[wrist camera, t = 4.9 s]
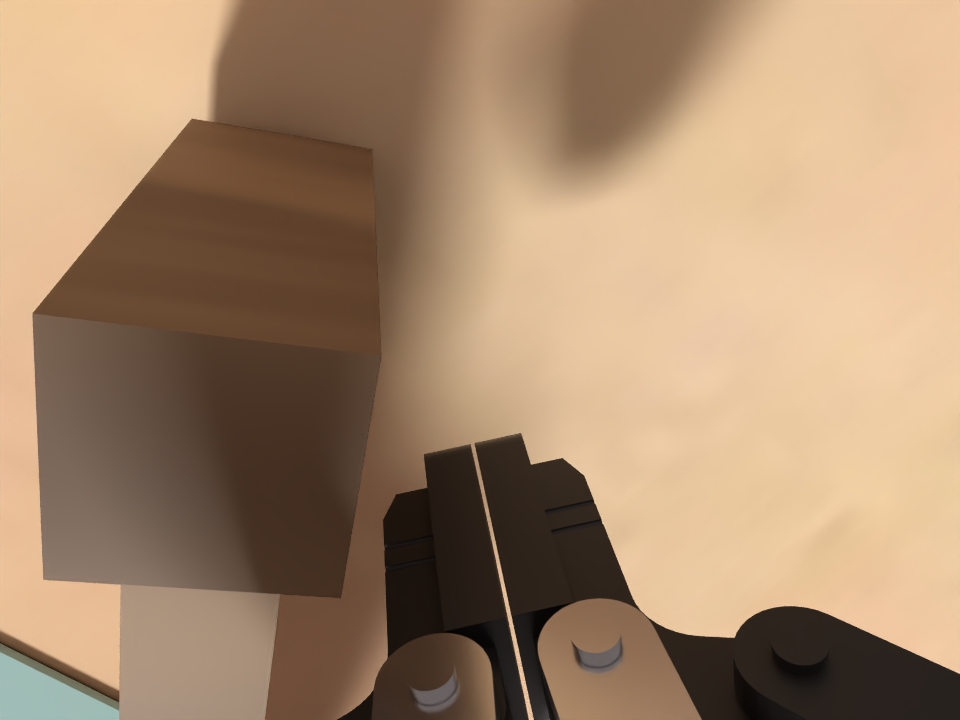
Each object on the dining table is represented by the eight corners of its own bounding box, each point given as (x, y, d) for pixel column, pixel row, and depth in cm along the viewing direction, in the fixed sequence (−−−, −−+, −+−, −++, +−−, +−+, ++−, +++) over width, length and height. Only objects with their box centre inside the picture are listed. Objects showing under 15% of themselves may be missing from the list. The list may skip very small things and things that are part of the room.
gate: (276, 814, 21) (240, 1201, 15) (159, 813, 20) (70, 1214, 14) (371, 149, 14) (380, 356, 7) (191, 118, 13) (32, 313, 7)
